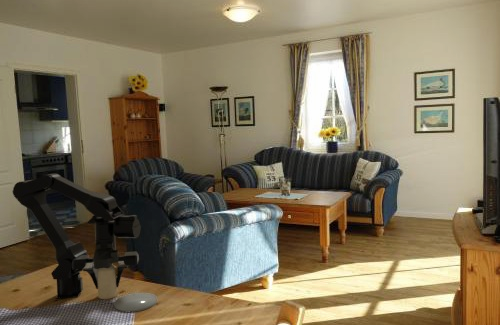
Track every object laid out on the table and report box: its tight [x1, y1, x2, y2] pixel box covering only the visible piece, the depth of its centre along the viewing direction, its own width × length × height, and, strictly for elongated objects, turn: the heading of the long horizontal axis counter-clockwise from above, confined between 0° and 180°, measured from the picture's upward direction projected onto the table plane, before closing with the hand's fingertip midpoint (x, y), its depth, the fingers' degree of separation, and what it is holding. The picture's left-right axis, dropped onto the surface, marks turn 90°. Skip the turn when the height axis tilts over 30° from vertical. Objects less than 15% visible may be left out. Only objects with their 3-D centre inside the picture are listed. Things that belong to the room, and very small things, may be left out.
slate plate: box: [113, 292, 158, 313], centre depth 118 cm, size 12×12×1 cm
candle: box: [97, 263, 118, 300], centre depth 124 cm, size 6×6×10 cm
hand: (107, 287), depth 124 cm, fingers closed on candle, 5 cm apart
